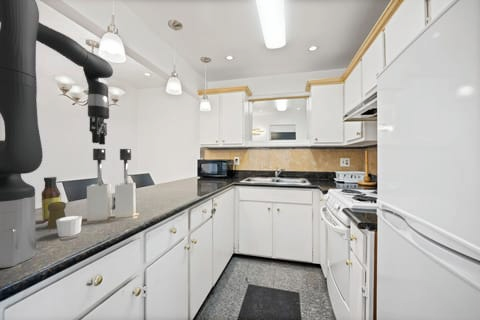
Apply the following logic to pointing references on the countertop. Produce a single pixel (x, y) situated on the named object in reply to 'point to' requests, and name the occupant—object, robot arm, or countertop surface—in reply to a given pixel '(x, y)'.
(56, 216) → the cork
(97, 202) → the jar left
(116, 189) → the jar right
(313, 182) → the countertop surface
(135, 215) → the stand
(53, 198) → the sauce bottle
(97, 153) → the plunger left
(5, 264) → the robot arm
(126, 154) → the plunger right
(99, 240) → the countertop surface
